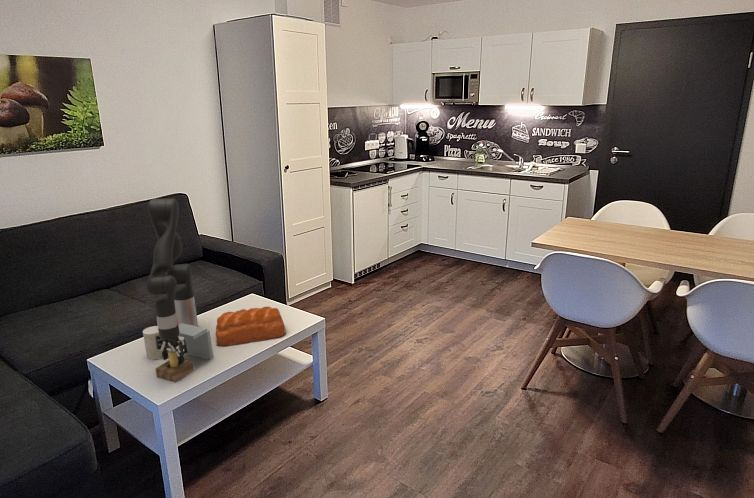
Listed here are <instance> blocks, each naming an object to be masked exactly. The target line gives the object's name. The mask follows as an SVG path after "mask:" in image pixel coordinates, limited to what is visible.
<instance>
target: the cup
mask: <svg viewBox="0 0 754 498" xmlns="http://www.w3.org/2000/svg"><path fill="white" fill-rule="evenodd" d="M158 335H159V331H158V325H154V326H149V327H145V328H144V329H143V330H142V337H143V341H144V346H145V347H144V348H145V354H146V358H147V360H151V361H157V360H160V359H163V357H162V352H161V351H160V349H159V350H158V349H157V346H156V336H158ZM159 345H160V344H159ZM166 350H168V348H167V349H166Z"/></svg>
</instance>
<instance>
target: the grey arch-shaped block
mask: <svg viewBox="0 0 754 498" xmlns="http://www.w3.org/2000/svg"><path fill="white" fill-rule="evenodd" d="M179 331H180V333H179V336H178V337H181V338H183V339H184V340H185V341H186V346H187V352H188V353H187V354H186V355H190V356H195V357H199V358H203V359H206V360H209V361H210V360H213V359H214V354H213V346H212V345H213V344H212V339H211V338H212V337H211V331H210V329H207V328H205V327H200V326H198V327H197V326H192V325H188V324H183V323H181V324H179ZM170 350H172V349H170ZM177 358H178V355H177Z"/></svg>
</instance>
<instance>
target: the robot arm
mask: <svg viewBox="0 0 754 498" xmlns="http://www.w3.org/2000/svg"><path fill="white" fill-rule="evenodd" d="M179 208H180V206H179V203H178V200H177V199H175V198H152V199H150V200H149V201H148V205H147V212H148V216H149V219H150V221H151V224H152V226H153V229H154V231H155V235H156V239H157V242H156V244H155V246H154V248H153V257H152V267H151V269H150V273H149V276H148V278H147V281H146V291H147V293H149V295H152V296H153V295H154V296H155V295H156V296H157V295H166V296H165V297H161V298H159V299H157V300H156V301H155V303H154V307H155V314H156V324H157V325H156V326H158V331H159V335H158V336H156V346H157V349H158V350H159V349H160V351H161V352H162V357H163V358H162V360H163V361H167V360H169V355H168V352H169V350H168V349H170V350H171V349H172V350H173V351H174V352H176V354H177V355H178V362H179V364H182V363H184V359H185V356H184V355H188V354H187V353H188V352H187V346H186V341H185V340H184V338H183V339H180V336H179V333H180V331H179V324H181V323H183V324H188V325H192V326H197V327H199V323H198V315H197V308H196V301H195V294H194V288H193V276H192V268H191V266H190V264H189V263H181V264H175V262H176V261H177V260H178V259H179V257H180V256H181V254H182V252H183V244H182V243H183V242H182V239H181V236H180V235H179V233H178V232H177V229H178V222H179V215H180V214H179V213H180V209H179ZM165 222H166V223H165ZM167 222H168V224H167ZM163 273H165V275H162V274H163ZM178 285H183V286H182V287H180V288H178V289H177V286H178ZM159 344H160V345H159ZM166 349H167V350H166Z"/></svg>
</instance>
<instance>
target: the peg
mask: <svg viewBox="0 0 754 498" xmlns="http://www.w3.org/2000/svg"><path fill="white" fill-rule="evenodd" d="M168 356H169V358H168V361H169V362H170V368H173V369H175V368H176V367H178V360H177V354H176V352H174V351H173V350H171V349H170V350H168Z"/></svg>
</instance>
